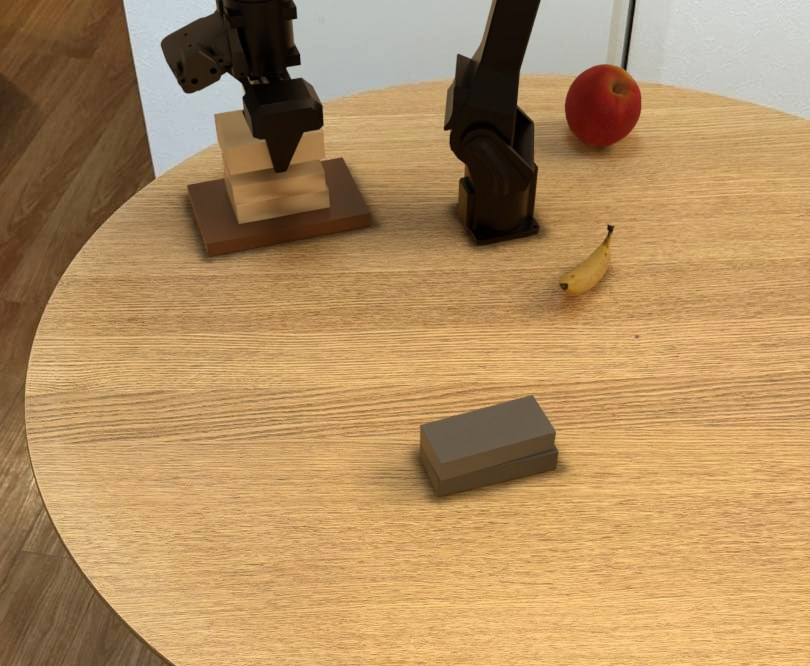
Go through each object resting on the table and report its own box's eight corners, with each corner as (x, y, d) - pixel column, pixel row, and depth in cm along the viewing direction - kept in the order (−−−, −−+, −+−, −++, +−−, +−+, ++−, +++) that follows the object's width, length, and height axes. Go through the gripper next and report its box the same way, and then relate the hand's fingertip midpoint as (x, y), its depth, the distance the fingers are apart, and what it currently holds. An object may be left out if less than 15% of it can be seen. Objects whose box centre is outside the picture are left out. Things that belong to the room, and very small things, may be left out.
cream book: (309, 125, 111) (307, 98, 109) (325, 158, 107) (323, 131, 105) (217, 140, 109) (213, 113, 107) (230, 175, 106) (226, 148, 104)
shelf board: (343, 169, 118) (340, 120, 114) (370, 225, 112) (369, 176, 108) (188, 197, 115) (180, 148, 111) (208, 256, 109) (200, 207, 105)
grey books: (534, 428, 95) (538, 393, 92) (557, 470, 92) (562, 435, 89) (417, 455, 93) (417, 420, 90) (436, 499, 90) (437, 464, 87)
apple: (565, 162, 119) (574, 90, 113) (558, 120, 124) (566, 48, 118) (639, 162, 119) (651, 89, 113) (628, 119, 124) (640, 48, 118)
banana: (571, 322, 103) (576, 286, 100) (547, 313, 104) (551, 277, 101) (618, 262, 109) (624, 226, 106) (595, 254, 109) (600, 218, 106)
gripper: (141, -48, 101) (170, 116, 113) (180, 56, 90) (207, 225, 102) (266, -65, 103) (281, 97, 115) (319, 34, 92) (330, 203, 104)
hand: (272, 153), depth 109 cm, fingers closed on cream book, 6 cm apart
